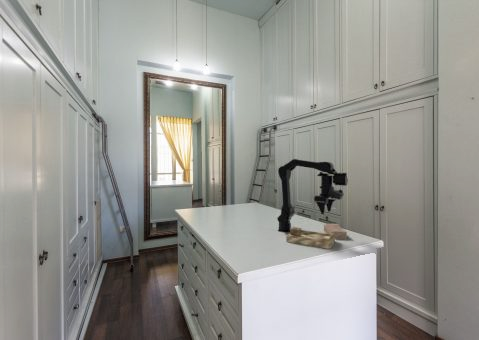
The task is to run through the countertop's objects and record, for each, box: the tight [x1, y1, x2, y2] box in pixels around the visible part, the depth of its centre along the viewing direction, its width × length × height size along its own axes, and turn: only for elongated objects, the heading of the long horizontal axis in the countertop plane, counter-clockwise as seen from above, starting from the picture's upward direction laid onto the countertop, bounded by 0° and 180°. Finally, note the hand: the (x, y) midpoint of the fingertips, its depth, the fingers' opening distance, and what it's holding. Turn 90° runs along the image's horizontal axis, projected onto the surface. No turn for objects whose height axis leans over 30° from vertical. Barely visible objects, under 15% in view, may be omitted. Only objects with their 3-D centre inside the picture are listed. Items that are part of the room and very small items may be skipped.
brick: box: [323, 223, 348, 240], centre depth 135 cm, size 17×8×5 cm, turn 175°
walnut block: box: [289, 226, 302, 236], centre depth 124 cm, size 4×4×4 cm
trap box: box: [285, 229, 336, 250], centre depth 123 cm, size 22×13×4 cm, turn 59°
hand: (326, 212), depth 128 cm, fingers open, 9 cm apart
